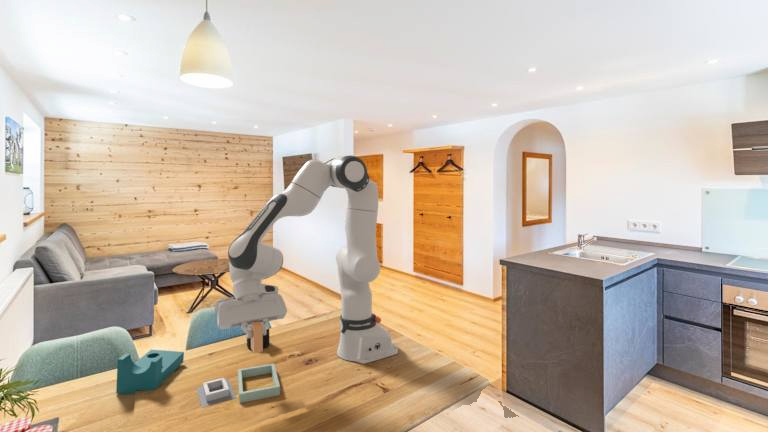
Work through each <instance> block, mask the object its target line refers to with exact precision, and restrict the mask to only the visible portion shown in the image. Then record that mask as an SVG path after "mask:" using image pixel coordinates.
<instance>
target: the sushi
mask: <svg viewBox="0 0 768 432" xmlns="http://www.w3.org/2000/svg"><path fill="white" fill-rule="evenodd" d="M261 324H262V322H261ZM263 327H264V325H263ZM247 328H248V329H249V330H251V324H250V325H248V326H247ZM266 331H267V334H266V335H263V350H264V349H267V348H269V347H270V325H268V323H267V326H266ZM246 346H247V349H248V350H249V351H252V349H251V338H247V337H246Z"/></svg>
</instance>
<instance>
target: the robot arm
mask: <svg viewBox="0 0 768 432" xmlns="http://www.w3.org/2000/svg"><path fill="white" fill-rule="evenodd" d="M367 168H368V167H367V165H366V164H365V162H364V161H363V159H361V158H360V157H358V156H355V155H340V156H338V157H335V158H332V159H329V160H328V161H325V162H323V161H321V160H317V159H310V160H308V161H306V162H305V163H304V165H303V166H302V167H301V168H300V169H299V170H298V171H297V173H296V174H295V175H294V177H293V179H292V180H291V182H290V184H289V185H288V186H287V188H286V189H285V190H284V191H282V192H281V193H278V194H276V195H275V194H274V196H272V197H271V198H270V199H269V200H268V201H267V202H266V204H265V205H264V206H263V207H262V208H261V209H260V211H259V212H258V213H257V215H256V216H255V217H254V218H253V219H252V221H251V222H250V223H249V225H248V226H247V227H246V228H245V229H244V230H243V232H242V233H240V235H238V237H236V238H235V239H234V240H233V241H232V242H231V244H230V245H229V247H228V252H227V256H228V260H229V262H228V266H229V267H228V268H229V269H228V271H229V276H230V281H231V282H232V293H233V294H232V295H233V296H231V297H227V298H220V299H219V300H217V301H216V302H214V305H213V306H214V311H215V313H217V318H216V321H217V328H218V329H220V330H225V329H231V328H238V327H240V328H241V330H242V331H243V332H244V333H245V334H246V339H247V338H253V331H252V330H249V329H248V326H249V325H251V322H257V321H259V322H260V323H262V325H264V327H263V335H266V334H267V331H266V326H268V325H267V324H268V323H269V322H272V321H277V320H282V319H284V318H285V317H286V316H287V312H288V309H287V305H286V302H285V300H284V297H283V296H282V294H280V293H279V287H278V286H277V285H271V284H266V283H262V281H263V280H266V279H268V278H271V277H273V276H276V275H277V274H278V273H279V272H280V271H281V269H282V268H283V266H284V265H283V264H284V256H283V252H282V251H281V250H280V249H279V248H276V247H274V246H272V245H269V244H266V243H264V242H262V240H263V238H264V237H265V236H266V235H267V234H268V233H269V231H270V230H271V228H272V227H273V226H274V225H275V224H276V222H277V221H278V220H280V219H282V218H285V217H304V216H307V215H309V214H311V213H312V212H314V210H315V209H316V208H317V206H318V205H319V202H320V201H321V199H322V197H323V195H324V194H325V192H326V191H327V189H328V188H330V187H332V188H333V187H334V188H338V189H339V188H340V189H345V191H346V193H347V198H348V200H347V205H346V207H347V209H346V216H345V224H344V225H345V226H344V232H345V237H346V245H343V246H342V247H340V248H339V249H338V251H337V252H336V256H335V261H336V265H337V273H338V279H339V286H340V293H341V294H340V296H341V297H340V298H341V306H340V307H341V314H340V317H339V330H340V337H339V343H338V348H337V351H336V354H337V356H338V357H339V358H340V359H342V360H346V361H350V362H356V363H360V364H368V363H371V362H375V361H379V360H381V359H385V358H388V357H392V356H396V355H398V353H399V348H398V345H397V344H396V343H395V342H394V341H393V340H392V336H391V335H390V333H389V331H388V330H387V329H386V328H384V327H383V326H381V325H380V323H381V322H382V319H381V317H379V316H377V315H376V314H374V313H373V312H372V311H373V306H372V305H373V304H372V303H373V301H372V300H373V294H372V290H371V288H370V283H371V282H373V281H375V280H376V279H377V278H378V276H379V274H380V273H381V264H380V261H379V258H378V248H377V224H378V213H379V187H378V184H377V182H375V181H374V180H372V179H370V176H369V175H370V174H369V173H368V169H367Z"/></svg>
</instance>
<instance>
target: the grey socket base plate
mask: <svg viewBox="0 0 768 432" xmlns="http://www.w3.org/2000/svg"><path fill="white" fill-rule="evenodd" d="M196 391H197V395H198V399H199V403H200V407H201V408H202V409H204V408H205V407H209V406H214V405H217V404H220V403H223V402H229V401H231V400H234V399H237V395H236V394H235V391H234V389H233V387H232V384H231V382H230V380H229V379H226V378H225V377H221V378H217V379H213V380H209V381H205V382H202V385H200V386H196Z"/></svg>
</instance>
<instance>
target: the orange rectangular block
mask: <svg viewBox="0 0 768 432" xmlns="http://www.w3.org/2000/svg"><path fill="white" fill-rule="evenodd" d="M261 323H262V322H261ZM261 323H260V322H259V321H257V322H251V324H250V325H251V330H252V331H253V338H251V349H252V350H251V351H252V352H253V354H258V353H262V352H264V349H263V325H262V324H261Z"/></svg>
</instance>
